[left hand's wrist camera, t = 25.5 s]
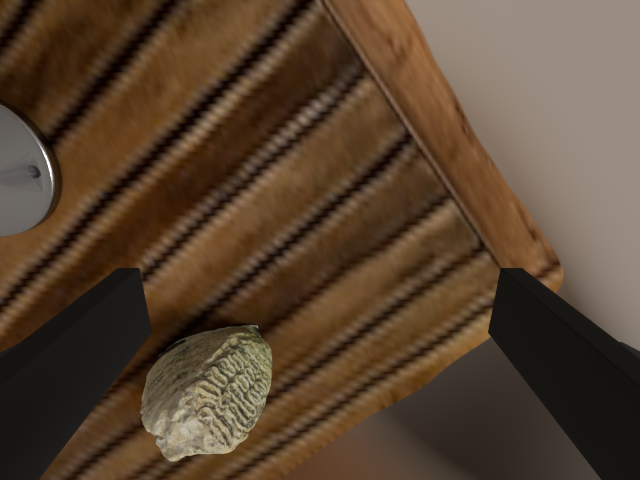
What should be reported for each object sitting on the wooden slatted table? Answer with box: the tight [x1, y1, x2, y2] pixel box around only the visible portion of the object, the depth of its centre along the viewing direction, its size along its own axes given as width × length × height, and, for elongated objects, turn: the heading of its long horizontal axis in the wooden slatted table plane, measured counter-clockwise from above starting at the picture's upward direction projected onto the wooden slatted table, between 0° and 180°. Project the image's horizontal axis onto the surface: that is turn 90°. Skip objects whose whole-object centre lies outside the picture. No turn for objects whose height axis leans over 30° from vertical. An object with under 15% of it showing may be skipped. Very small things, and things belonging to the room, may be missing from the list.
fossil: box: [141, 325, 272, 461], centre depth 40 cm, size 9×18×15 cm, turn 124°
